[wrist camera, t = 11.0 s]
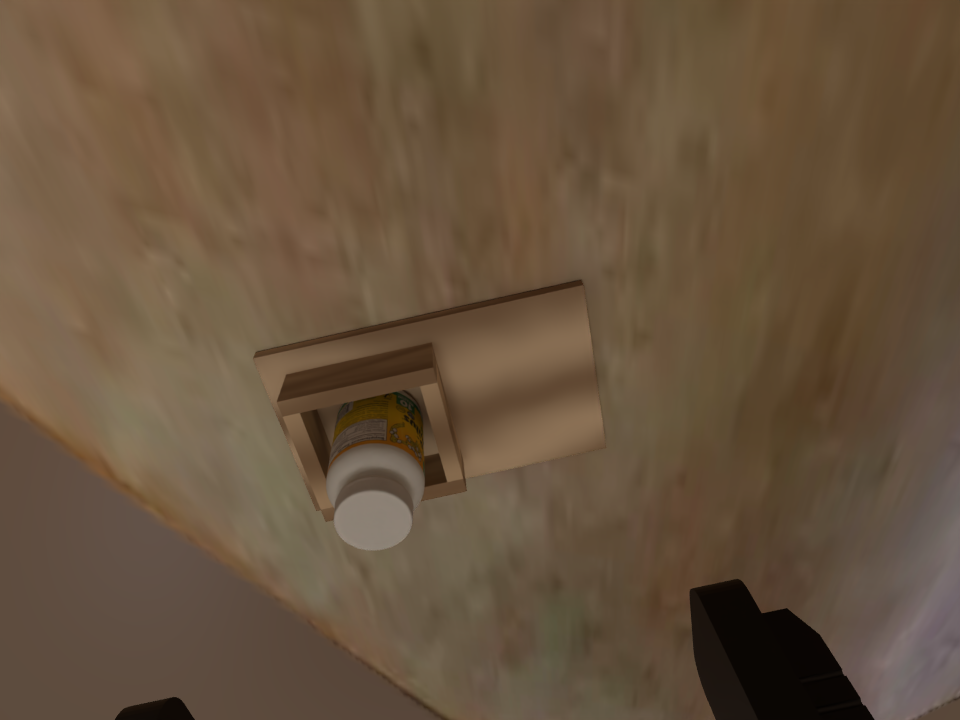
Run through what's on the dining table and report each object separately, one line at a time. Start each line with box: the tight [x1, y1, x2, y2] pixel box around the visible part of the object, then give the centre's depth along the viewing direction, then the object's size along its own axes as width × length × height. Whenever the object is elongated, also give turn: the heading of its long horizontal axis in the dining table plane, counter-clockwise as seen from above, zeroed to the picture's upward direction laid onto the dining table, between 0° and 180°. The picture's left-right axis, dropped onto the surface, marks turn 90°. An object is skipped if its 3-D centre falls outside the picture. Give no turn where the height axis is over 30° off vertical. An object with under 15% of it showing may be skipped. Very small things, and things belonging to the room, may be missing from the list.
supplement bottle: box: [326, 391, 425, 550], centre depth 38 cm, size 5×5×10 cm
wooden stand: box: [253, 280, 606, 522], centre depth 41 cm, size 12×20×4 cm, turn 102°
